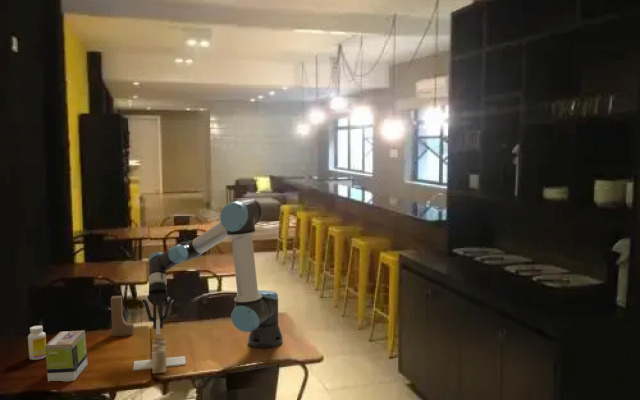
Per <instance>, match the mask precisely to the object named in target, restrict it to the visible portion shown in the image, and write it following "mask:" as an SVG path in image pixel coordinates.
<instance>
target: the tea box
mask: <svg viewBox="0 0 640 400" xmlns="http://www.w3.org/2000/svg"><path fill="white" fill-rule="evenodd" d="M45 352H46V357H45V361H46V373H47V374H46V376H47V382H48V383H50V382H49V381H63V382H74V381H75V380H76V379H77V378H78V377H79V375H80V374H81V373H82V372H83V371H84V370H85V368H86V367H87V366H88V364H89V363H88V354H87V342H86V330H85V329H84V330H70V331H68V330H67V331H59V332H58V333H57V334H56V335H55V336H53V338H51V339H50V340H49V341H48V343H47V342H46V345H45Z"/></svg>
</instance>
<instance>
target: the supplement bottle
mask: <svg viewBox="0 0 640 400" xmlns="http://www.w3.org/2000/svg"><path fill="white" fill-rule="evenodd" d="M43 329H44V328H43V325H33V326H31V327H29V332H30V333H29V334H28V336H27V342H28V357H29V360H33V361H38V360H42V359H44V358H46V352H45V345H46V344H47V335H46V334H47V333H46V332H44V331H43Z"/></svg>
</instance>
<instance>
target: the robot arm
mask: <svg viewBox="0 0 640 400" xmlns="http://www.w3.org/2000/svg"><path fill="white" fill-rule="evenodd" d="M263 214H264V210H263V207H262V205H261V203H260V202H259V201H258V200H256V199H254V198H245V199H239V200H235V201H231V202H229V203H227V204H226V205H224V207H223V208H222V210H221V211H220V217H219V218H220V222H219V223H217V224H215V225H213V226H212V227H211V228H210V229H208V230H206V231H204V232H203V233H201V234H200V235H198V236H197V237H195V238H193V239H192V240H191V241H189V242H188V243H187V242H186V243H185V244H183V245H182V244H179V243H178V244H176V245H174V246H172V247H170V248H169V249H168V250H166V251H165V252H160V251H157V252H153V253H151V254H150V255H149V256H148V257H149V259H148V295H147V298H145V299H143V298H142V301H141V302H142V305H143V306H144V308H145V311H146V314H147V319H148V321H149V322H151V323H152V325H153V330H155V331H156V332H155V334H156V336H155V337H156V338H161V329H163V328H164V321H168V318H169V314H170V311H171V305H172V304H173V302H174V297H173V296H172V297H170V296H169V295H168V285H167V284H168V283H167V282H168V281H167V280H168V279H167V277H168V276H167V271H169V270H171V269H172V268H174V267H176V266H177V265H180V264H183V263H185V262H188V261H191V260H195V259H197V258H199V257H200V256H201V255H202V254H204V253H205V252H206V251H209V250H210V249H212V248H213V247H215V246H217V245H219V244H220V243H221V242H224V240H226V239H227V238H230V239H231V247H232V256H233V265H234V266H233V268H234V274H235V275H234V277H235V283H236V284H235V285H236V294H237V295H236V296H235V297H234V298H233V300H234V308H233V310H232V311H231V313H230V314H231V315H230V320H231V323H232V324H233V326H234V327H235V328H237V330H239V331H240V332H244V333H249V335H248V340H247V341H248V342H247V343H248V345H249V346H251V347H253V348H259V349H268V348H275V347H278V346H279V345H281V344H282V343H283V334H282V331H281V328H280V326H279V297H278V296H279V295H278V293H277V291H273V290H265V289H264V290H258V289H259V288H258V281H257V272H256V262H255V250H254V243H253V241H254V240H253V235H254V234H255V233H256V226H255V225H257V224H258V223H260V221H261V220H262V219H263V217H264V216H263ZM165 302H167V304H166V308H165V310H164V304H165ZM149 303H150V304H151V305H152V313H153V314H152V313H151V311H150V310H151V309H150V307H149ZM157 306H159V319H157ZM163 311H165V312H163Z"/></svg>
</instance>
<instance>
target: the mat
mask: <svg viewBox="0 0 640 400" xmlns="http://www.w3.org/2000/svg"><path fill="white" fill-rule="evenodd" d="M186 363H187V362H186V356H185V355H183V356H172V357H166V368H169V367H178V366H186V365H187V364H186ZM151 369H152V358H151V359H144V360H134V361H133V367H132V371H142V370H151Z"/></svg>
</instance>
